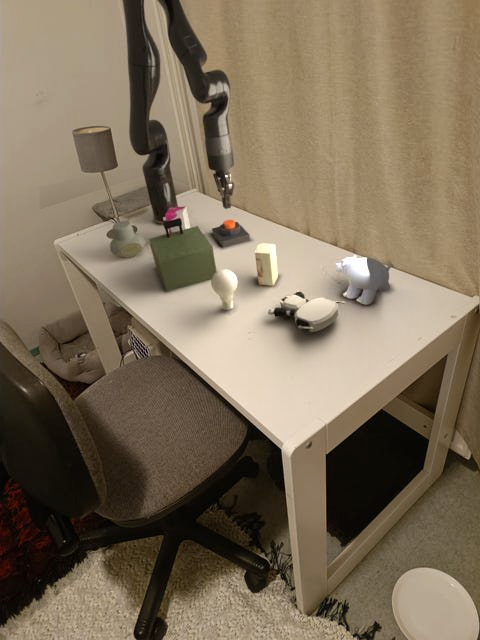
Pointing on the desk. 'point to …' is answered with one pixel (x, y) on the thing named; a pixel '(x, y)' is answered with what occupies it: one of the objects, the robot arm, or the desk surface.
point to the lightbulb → (225, 286)
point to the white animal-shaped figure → (364, 277)
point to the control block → (230, 235)
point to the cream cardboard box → (266, 264)
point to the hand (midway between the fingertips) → (227, 207)
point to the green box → (186, 269)
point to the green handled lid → (179, 242)
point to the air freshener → (126, 240)
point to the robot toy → (307, 311)
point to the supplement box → (178, 213)
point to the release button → (229, 224)
